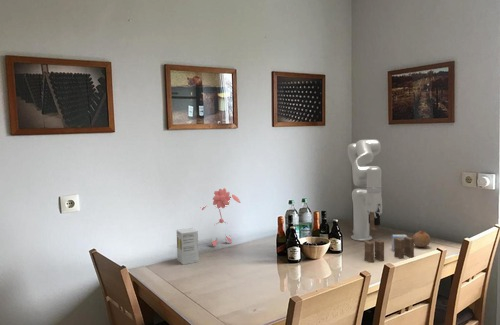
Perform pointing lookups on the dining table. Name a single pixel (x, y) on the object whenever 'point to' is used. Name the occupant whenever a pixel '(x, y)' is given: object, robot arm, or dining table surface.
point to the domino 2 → (372, 216)
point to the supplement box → (187, 246)
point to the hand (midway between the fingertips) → (374, 223)
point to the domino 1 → (369, 251)
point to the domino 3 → (379, 250)
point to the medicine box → (397, 237)
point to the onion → (421, 239)
